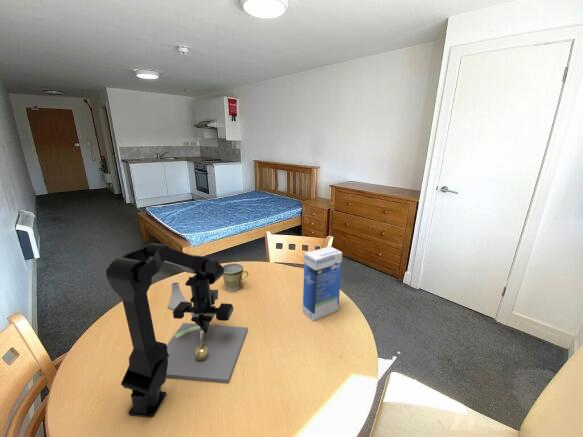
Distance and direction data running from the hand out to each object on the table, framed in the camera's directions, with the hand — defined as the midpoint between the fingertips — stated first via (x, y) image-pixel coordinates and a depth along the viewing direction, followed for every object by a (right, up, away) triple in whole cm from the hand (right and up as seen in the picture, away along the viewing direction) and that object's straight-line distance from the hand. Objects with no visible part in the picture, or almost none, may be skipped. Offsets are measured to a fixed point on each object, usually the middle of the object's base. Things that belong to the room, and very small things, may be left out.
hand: (206, 332), depth 90 cm
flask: (-18, +3, +19) cm, 27 cm away
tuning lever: (0, -2, -4) cm, 4 cm away
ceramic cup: (+3, +6, +33) cm, 34 cm away
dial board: (0, -4, -4) cm, 6 cm away
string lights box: (+41, +1, +17) cm, 44 cm away
